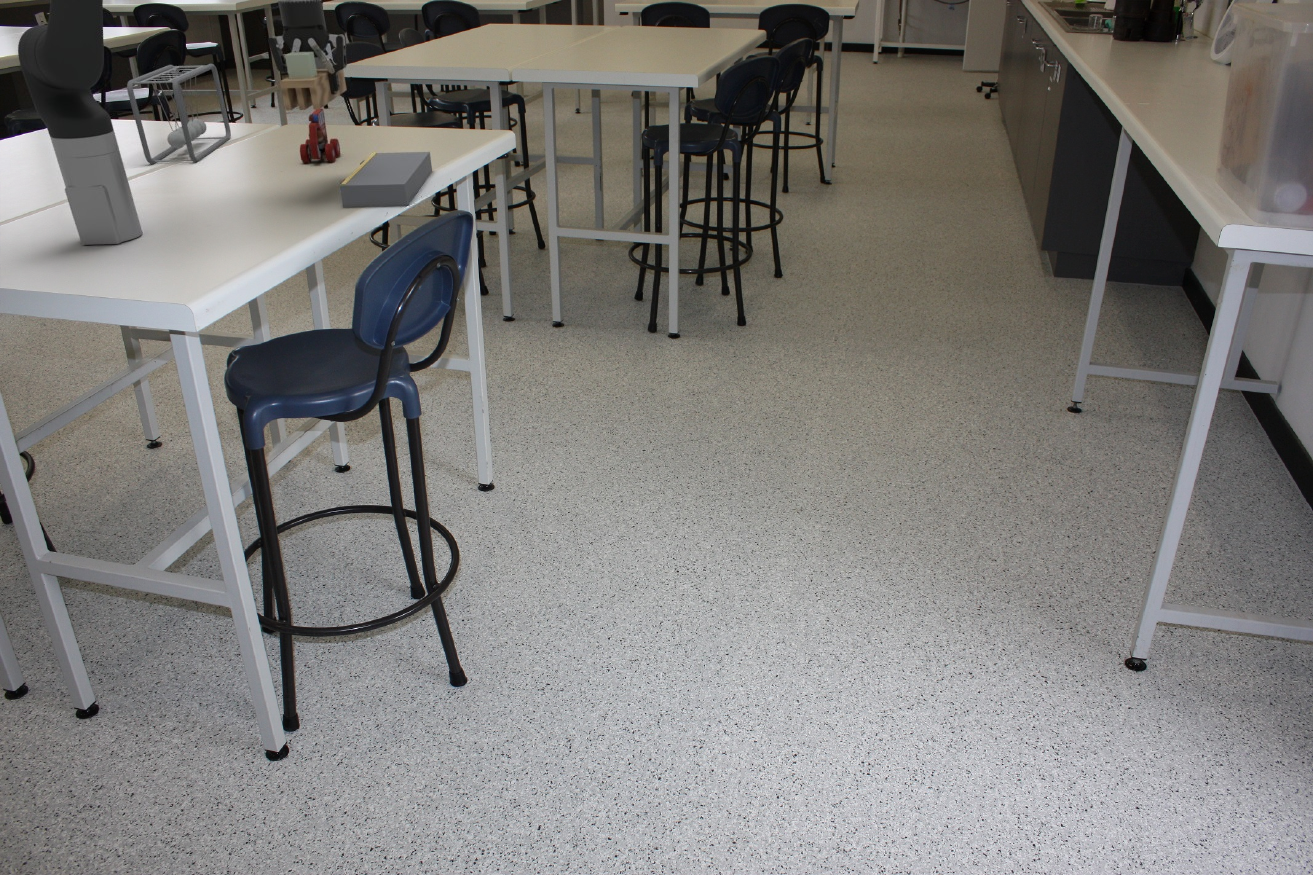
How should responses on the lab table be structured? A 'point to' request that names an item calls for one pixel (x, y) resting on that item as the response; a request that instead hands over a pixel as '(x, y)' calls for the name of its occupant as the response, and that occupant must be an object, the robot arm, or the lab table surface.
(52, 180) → the lab table surface
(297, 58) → the block
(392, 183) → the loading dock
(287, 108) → the tan wooden bar
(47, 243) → the lab table surface
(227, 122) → the newton's cradle
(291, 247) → the lab table surface
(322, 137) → the toy fire truck
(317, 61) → the block
